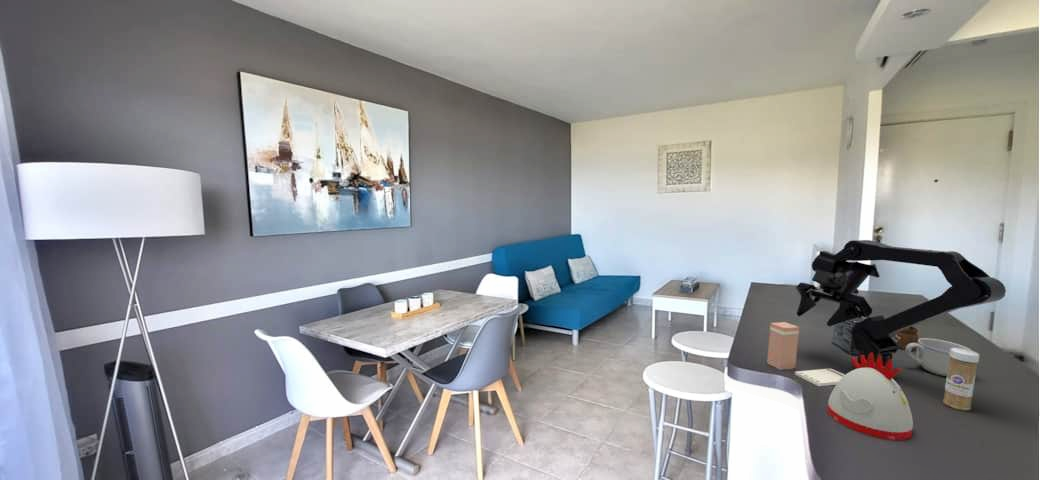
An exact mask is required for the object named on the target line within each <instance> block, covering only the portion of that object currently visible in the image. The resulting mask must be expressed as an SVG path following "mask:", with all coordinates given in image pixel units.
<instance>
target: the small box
mask: <svg viewBox="0 0 1040 480" xmlns="http://www.w3.org/2000/svg"><path fill="white" fill-rule="evenodd" d="M865 319H866V318H865V317H863V316H862V317H861V318H854V319H851V320H847V321H844V322H841V323H838V324H835V325H833V334H832V341H831V343H832V344H833V345H834V346H836V347H838V348H839V349H840V350H842V351H844V352H845V353H847V354H848V355H853V356H858V355H859V354H860V351H857V349H856V345H855V342H854V339H853V338H852V335H851V331H852V330H851V329H852V328H853V327H854V326H855V325H856V324H855V323H856V322H862V321H863V320H865Z"/></svg>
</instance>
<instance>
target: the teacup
mask: <svg viewBox="0 0 1040 480" xmlns="http://www.w3.org/2000/svg"><path fill="white" fill-rule="evenodd" d="M913 347H917V349H916V354H915V355H914V354H913V353H912V351H911V349H912V348H913ZM951 348H962V349H967V350H971V351H973V350H972V349H970V348H969V347H967V346H965V345H962V344H959V343H955V342H952V341H948V340H943V339H937V338H927V337H923V338H922V337H921V338H918V344H917V343H910V344H908V345H907V346H906V348H905V350H904V351H905V353H906V354H907V356H909V358H912V360H914V361H915V362H916V363H917V364H919V365H920V366H921V367H922V368H923V369H924V370H926V371H928V372H929V373H933V374H935V375H938V376H943V377H947V374H948V368H949V362H950V356H949V354H950V349H951Z"/></svg>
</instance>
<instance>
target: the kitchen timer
mask: <svg viewBox="0 0 1040 480" xmlns="http://www.w3.org/2000/svg"><path fill="white" fill-rule="evenodd" d="M857 360H858V359H856V357H855V356H854V357H852V358H851V361H852V364H853V366H854V367H855V369H852V370H851V371H849V372H847V373H846V374H845V376H844V377H842V378H841V380H840V381H839V382H838V383H837V384H836V385H834V388H833V390H832V392H831V393H830V394H829V395H830V396H829V398H828V402H827V408H826V409H827V413H828V415H829V416H830V417H831V418H832V419H833V420H835V421H836V422H837V423H840V424H841V425H843V426H844V427H846V428H849V429H852V430H853V429H854V431H856V432H858V433H861V434H865V435H868V436H871V437H874V438H879V439H884V440H894V441H901V440H907V439H910V438H911V437H912V436H913V429H914V421H913V416H912V411H911V407H910V404H909V400H908V399H907V396H906V395H905V392H903V391H904V390H902V388H901V386H900V385H899V384H898V383H897V382H896V380H894V379H893V377H894V376H895V377H896V375H898V373H900V370H901V367H898V368H896V369H894V370H893V358H892V359H891V360H889V361H888V362H887V364H886V365H885V367H884V366H883V363H882V356H881V355H879V356H878V357H877V360H876V363H875V362H874V356H873V353H869V356H868V359H867V361H866V359H865V357H864V355H860V360H861V365H860V364H859V363H858V362H857Z"/></svg>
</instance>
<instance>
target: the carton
mask: <svg viewBox="0 0 1040 480" xmlns="http://www.w3.org/2000/svg"><path fill="white" fill-rule="evenodd" d="M799 334H800V327H799V326H797V325H795V324H792V323H788V322H786V321H783V322H782V321H781V322H771V323H770V327H769V340H768V351H767V364H768V365H770V366H772V367H774V368H775V367H776V368H775V369H777V370H780V371H782V370H783V371H784V369H785V370H792V369H793V368H795V369H796V365H797V356H798V355H797V354H798V345H799V344H798V343H799ZM793 370H794V369H793Z"/></svg>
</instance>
